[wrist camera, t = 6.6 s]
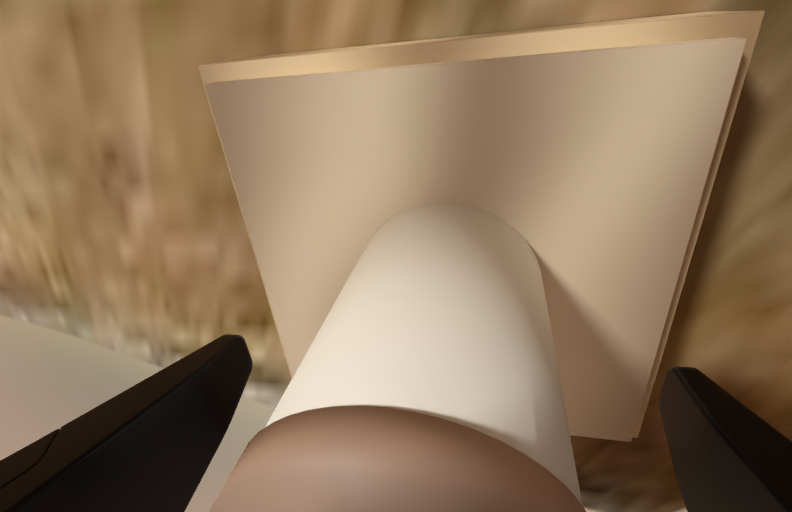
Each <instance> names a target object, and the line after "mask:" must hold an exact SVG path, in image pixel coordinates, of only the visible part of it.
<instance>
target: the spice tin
mask: <svg viewBox="0 0 792 512" xmlns="http://www.w3.org/2000/svg"><path fill="white" fill-rule="evenodd" d="M210 512H586V511H585V509H584V507H583V506H582V500H581V495H580V489H579V483H578V478H577V472H576V466H575V461H574V455H573V449H572V444H571V438H570V433H569V427H568V421H567V416H566V410H565V404H564V399H563V393H562V387H561V382H560V376H559V370H558V365H557V359H556V353H555V348H554V342H553V337H552V331H551V325H550V320H549V314H548V308H547V303H546V297H545V291H544V286H543V280H542V274H541V269H540V266H539V263H538V260H537V258H536V256H535V254H534V252H533V250H532V248H531V247H530V245H529V244H528V243H527V241H526V240H525V239H524V237H523V236H522V235H521V234H520V233H519V232H518V231H517V230H516V229H514V228H513V227H512V226H511V225H509V224H508V223H507V222H505V221H504V220H502V219H500V218H499V217H497V216H495V215H493V214H491V213H489V212H486V211H484V210H481V209H478V208H475V207H472V206H467V205H461V204H452V203H437V204H428V205H422V206H418V207H415V208H412V209H409V210H406V211H404V212H402V213H400V214H398V215H396V216H394V217H393V218H391V219H390V220H388V221H387V222H385V223H384V224H383V225H382V226H381V227H380V228H379V229H378V230H377V231H376V232H375V233H374V235H373V236H372V237H371V239H370V240H369V242H368V244H367V245H366V247H365V249H364V251H363V253H362V254H361V256H360V258H359V260H358V262H357V263H356V265H355V267H354V269H353V270H352V272H351V274H350V276H349V278H348V279H347V281H346V283H345V285H344V287H343V288H342V290H341V292H340V294H339V296H338V297H337V299H336V301H335V303H334V305H333V306H332V308H331V310H330V312H329V314H328V315H327V317H326V319H325V321H324V323H323V324H322V326H321V328H320V330H319V331H318V333H317V335H316V337H315V339H314V340H313V342H312V344H311V346H310V348H309V349H308V351H307V353H306V355H305V357H304V358H303V360H302V362H301V364H300V366H299V367H298V369H297V371H296V373H295V375H294V376H293V378H292V380H291V382H290V384H289V385H288V387H287V389H286V391H285V393H284V394H283V396H282V398H281V400H280V401H279V403H278V405H277V407H276V409H275V410H274V412H273V414H272V416H271V418H270V419H269V421H268V423H267V425H266V427H265V428H264V429H263V430H261V431H259V432H258V433H257V434H256V435H255V436H254V437H253V439H252V440H251V441H250V442H249V443H248V445H247V447H246V449H245V450H244V452H243V454H242V455H241V457H240V459H239V461H238V462H237V464H236V466H235V468H234V469H233V471H232V473H231V474H230V476H229V478H228V480H227V481H226V483H225V485H224V487H223V488H222V490H221V492H220V494H219V495H218V497H217V499H216V500H215V502H214V504H213V506H212V507H211V509H210Z"/></svg>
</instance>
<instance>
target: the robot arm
mask: <svg viewBox="0 0 792 512" xmlns="http://www.w3.org/2000/svg"><path fill="white" fill-rule="evenodd" d="M251 370H252V359H251V356H250V353H249V350H248V348H247V345H246V342H245V339H244V338H243V337H242V336H240V335H230V334H227V335H223V336H221V337H219V338H218V339H216V340H214V341H212V342H211V343H209V344H207V345H205V346H203V347H202V348H200V349H198V350H196V351H195V352H193V353H191V354H189V355H188V356H186V357H184V358H182V359H180V360H179V361H177V362H175V363H173V364H172V365H170V366H168V367H166V368H165V369H163V370H161V371H159V372H158V373H156V374H154V375H152V376H150V377H149V378H147V379H145V380H143V381H142V382H140V383H138V384H136V385H135V386H133V387H131V388H129V389H127V390H126V391H124V392H122V393H120V394H119V395H117V396H115V397H113V398H112V399H110V400H108V401H106V402H104V403H103V404H101V405H99V406H97V407H96V408H94V409H92V410H90V411H89V412H87V413H85V414H83V415H81V416H80V417H78V418H76V419H74V420H73V421H71V422H69V423H67V424H66V425H64V426H62V427H61V429H57V430H55V431H53V432H51V433H50V434H48V435H46V436H44V437H43V438H41V439H39V440H37V441H36V442H34V443H32V444H30V445H28V446H26V447H25V448H23V449H21V450H19V451H17V452H16V453H14V454H12V455H10V456H8V457H6V458H5V459H3V460H1V461H0V512H184V511H185V510H186V508H187V506H188V504H189V502H190V500H191V498H192V496H193V494H194V492H195V491H196V489H197V487H198V485H199V483H200V481H201V479H202V477H203V475H204V473H205V471H206V470H207V468H208V466H209V464H210V462H211V460H212V458H213V456H214V454H215V453H216V451H217V449H218V447H219V445H220V443H221V441H222V439H223V437H224V435H225V433H226V431H227V429H228V426H229V424H230V422H231V420H232V417H233V415H234V412H235V410H236V408H237V405H238V403H239V400H240V398H241V395H242V393H243V390H244V388H245V385H246V383H247V381H248V378H249V376H250V373H251ZM659 408H660V412H661V417H662V421H663V425H664V429H665V433H666V437H667V441H668V445H669V449H670V453H671V457H672V461H673V465H674V469H675V473H676V477H677V481H678V485H679V488H680V491H681V494H682V497H683V500H684V503H685V506H686V509H687V511H688V512H792V441H791V440H789V439H788V438H787V437H785V436H784V435H783V434H782V433H780V432H779V431H778V430H776V429H775V428H774V427H772V426H771V425H770V424H769V423H767V422H766V421H765V420H763V419H762V418H761V417H759V416H758V415H757V414H755V413H754V412H753V411H752V410H750V409H749V408H748V407H746V406H745V405H744V404H742V403H741V402H740V401H739V400H737V399H736V398H735V397H733V396H732V395H731V394H729V393H728V392H727V391H725V390H724V389H723V388H722V387H720V386H719V385H718V384H716V383H715V382H714V381H712V380H711V379H710V378H709V377H707V376H706V375H705V374H703V373H702V372H701V371H699V370H698V369H696V368H692V367H678V366H673V367H670V368H669V369H668V371H667V374H666V377H665V380H664V383H663V386H662V389H661V393H660V396H659Z"/></svg>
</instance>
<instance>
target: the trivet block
mask: <svg viewBox="0 0 792 512" xmlns="http://www.w3.org/2000/svg"><path fill="white" fill-rule="evenodd" d="M764 13H765V11H723V12H699V13H689V14H679V15H669V16H659V17H649V18H639V19H629V20H619V21H609V22H599V23H588V24H578V25H568V26H558V27H548V28H538V29H528V30H518V31H508V32H498V33H488V34H477V35H467V36H457V37H447V38H437V39H427V40H417V41H407V42H397V43H387V44H377V45H367V46H356V47H346V48H336V49H326V50H316V51H306V52H296V53H286V54H276V55H266V56H256V57H247V58H241V59H235V60H229V61H223V62H216V63H210V64H204V65H198V69H199V72H200V76H201V79H202V82H203V86H204V89H205V92H206V95H207V99H208V102H209V105H210V109H211V112H212V115H213V119H214V122H215V125H216V129H217V132H218V135H219V139H220V142H221V145H222V149H223V152H224V155H225V159H226V162H227V165H228V169H229V172H230V175H231V178H232V182H233V185H234V188H235V192H236V195H237V198H238V202H239V205H240V208H241V212H242V215H243V218H244V222H245V225H246V228H247V232H248V235H249V238H250V242H251V245H252V248H253V252H254V255H255V258H256V261H257V265H258V268H259V271H260V275H261V278H262V281H263V285H264V288H265V291H266V295H267V298H268V301H269V305H270V308H271V311H272V315H273V318H274V321H275V325H276V328H277V331H278V335H279V338H280V341H281V344H282V348H283V351H284V354H285V358H286V361H287V364H288V368H289V371H290V374H291V378H293V376H294V375H295V373H296V371H297V369H298V367H299V366H300V364H301V362H302V360H303V358H304V357H305V355H306V353H307V351H308V349H309V348H310V346H311V344H312V342H313V340H314V339H315V337H316V335H317V333H318V331H319V330H320V328H321V326H322V324H323V323H324V321H325V319H326V317H327V315H328V314H329V312H330V310H331V308H332V306H333V305H334V303H335V301H336V299H337V297H338V296H339V294H340V292H341V290H342V288H343V287H344V285H345V283H346V281H347V279H348V278H349V276H350V274H351V272H352V270H353V269H354V267H355V265H356V263H357V262H358V260H359V258H360V256H361V254H362V253H363V251H364V249H365V247H366V245H367V244H368V242H369V240H370V239H371V237H372V236H373V235H374V233H375V232H376V231H377V230H378V229H379V228H380V227H381V226H382V225H383V224H384V223H385V222H387V221H388V220H390V219H391V218H393V217H394V216H396V215H398V214H400V213H402V212H404V211H406V210H409V209H412V208H415V207H418V206H422V205H428V204H437V203H452V204H461V205H467V206H472V207H475V208H478V209H481V210H484V211H486V212H489V213H491V214H493V215H495V216H497V217H499V218H500V219H502V220H504V221H505V222H507V223H508V224H509V225H511V226H512V227H513V228H514V229H516V230H517V231H518V232H519V233H520V234H521V235H522V236H523V237H524V239H525V240H526V241H527V243H528V244H529V245H530V247H531V248H532V250H533V252H534V254H535V256H536V258H537V260H538V263H539V266H540V269H541V274H542V280H543V286H544V291H545V297H546V303H547V308H548V314H549V320H550V325H551V331H552V337H553V342H554V348H555V353H556V359H557V365H558V370H559V376H560V382H561V387H562V393H563V399H564V404H565V410H566V416H567V421H568V427H569V433H570V435H572V436H581V437H590V438H600V439H609V440H618V441H627V442H631V440H632V437H634V438H638V435H639V432H640V429H641V425H642V422H643V419H644V415H645V412H646V409H647V405H648V402H649V399H650V395H651V392H652V389H653V385H654V382H655V378H656V375H657V372H658V368H659V365H660V362H661V358H662V355H663V352H664V348H665V345H666V342H667V338H668V335H669V331H670V328H671V325H672V321H673V318H674V315H675V311H676V308H677V305H678V301H679V298H680V295H681V291H682V288H683V284H684V281H685V278H686V274H687V271H688V268H689V264H690V261H691V258H692V254H693V251H694V248H695V244H696V241H697V237H698V234H699V231H700V227H701V224H702V221H703V217H704V214H705V211H706V207H707V204H708V201H709V197H710V194H711V190H712V187H713V184H714V180H715V177H716V174H717V170H718V167H719V164H720V160H721V157H722V154H723V150H724V147H725V144H726V140H727V137H728V133H729V130H730V127H731V123H732V120H733V117H734V113H735V110H736V107H737V103H738V100H739V97H740V93H741V90H742V86H743V83H744V80H745V76H746V73H747V70H748V66H749V63H750V60H751V56H752V53H753V50H754V46H755V43H756V39H757V36H758V33H759V29H760V26H761V23H762V19H763V16H764Z"/></svg>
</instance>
